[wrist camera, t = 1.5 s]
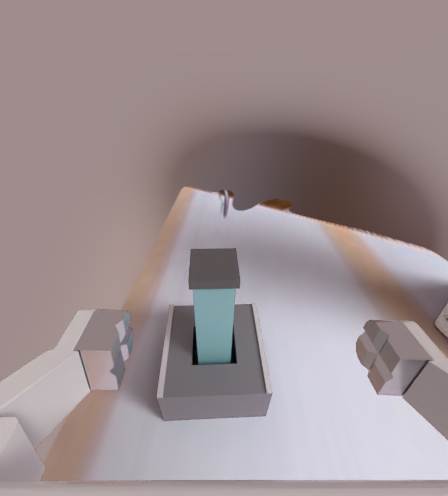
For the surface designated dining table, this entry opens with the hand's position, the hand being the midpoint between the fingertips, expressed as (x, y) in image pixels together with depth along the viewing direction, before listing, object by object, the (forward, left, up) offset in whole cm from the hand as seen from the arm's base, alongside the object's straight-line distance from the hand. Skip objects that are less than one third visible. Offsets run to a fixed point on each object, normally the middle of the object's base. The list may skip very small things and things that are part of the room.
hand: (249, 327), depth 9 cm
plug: (-9, -9, -26) cm, 29 cm away
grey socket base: (-9, -9, -27) cm, 30 cm away
